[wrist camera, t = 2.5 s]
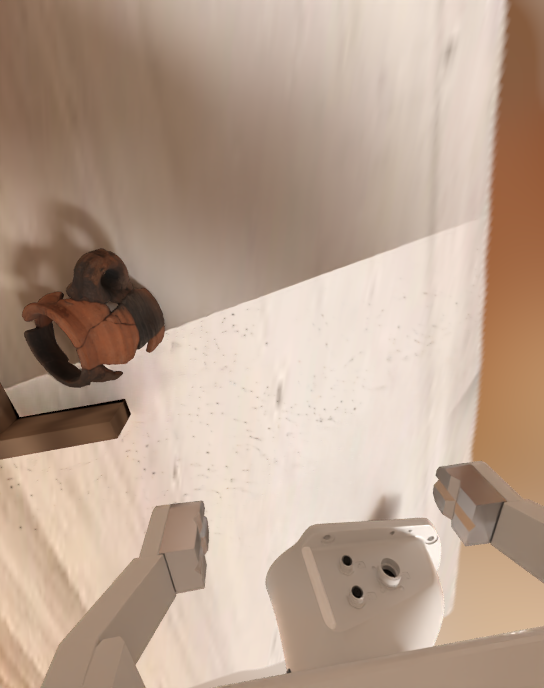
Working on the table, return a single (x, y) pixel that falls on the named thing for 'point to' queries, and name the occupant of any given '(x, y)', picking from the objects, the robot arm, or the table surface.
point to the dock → (58, 427)
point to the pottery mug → (94, 321)
